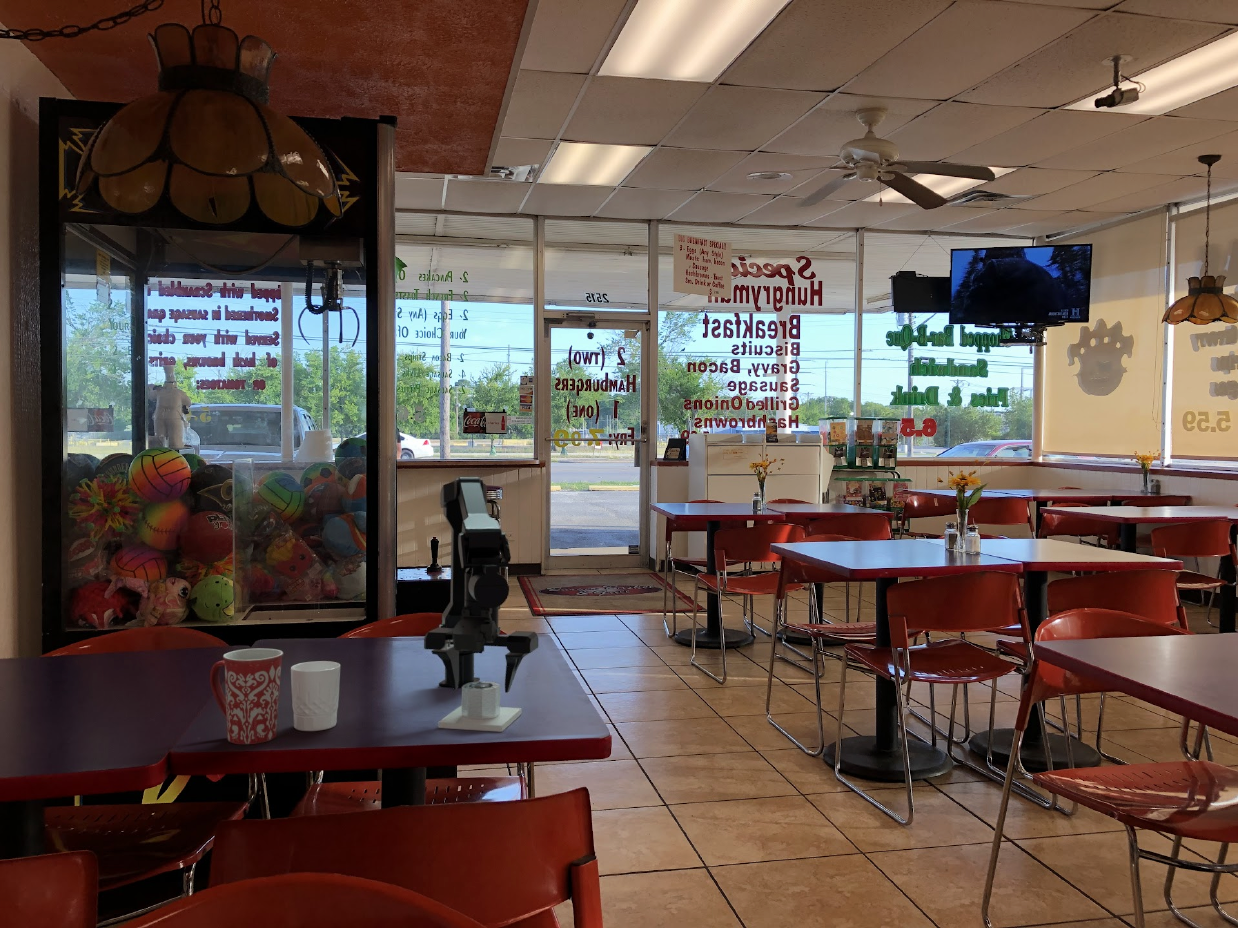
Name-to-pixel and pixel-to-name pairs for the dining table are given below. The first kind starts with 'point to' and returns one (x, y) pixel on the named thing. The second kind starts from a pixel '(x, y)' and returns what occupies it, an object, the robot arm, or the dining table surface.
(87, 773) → the dining table surface
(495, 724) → the post fixture
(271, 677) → the mug
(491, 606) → the robot arm
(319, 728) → the white cup
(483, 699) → the grey hollow octagonal cylinder
